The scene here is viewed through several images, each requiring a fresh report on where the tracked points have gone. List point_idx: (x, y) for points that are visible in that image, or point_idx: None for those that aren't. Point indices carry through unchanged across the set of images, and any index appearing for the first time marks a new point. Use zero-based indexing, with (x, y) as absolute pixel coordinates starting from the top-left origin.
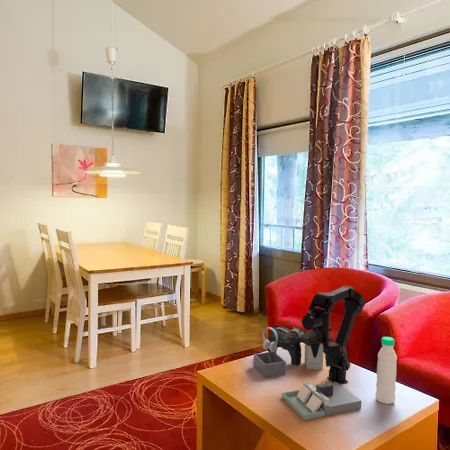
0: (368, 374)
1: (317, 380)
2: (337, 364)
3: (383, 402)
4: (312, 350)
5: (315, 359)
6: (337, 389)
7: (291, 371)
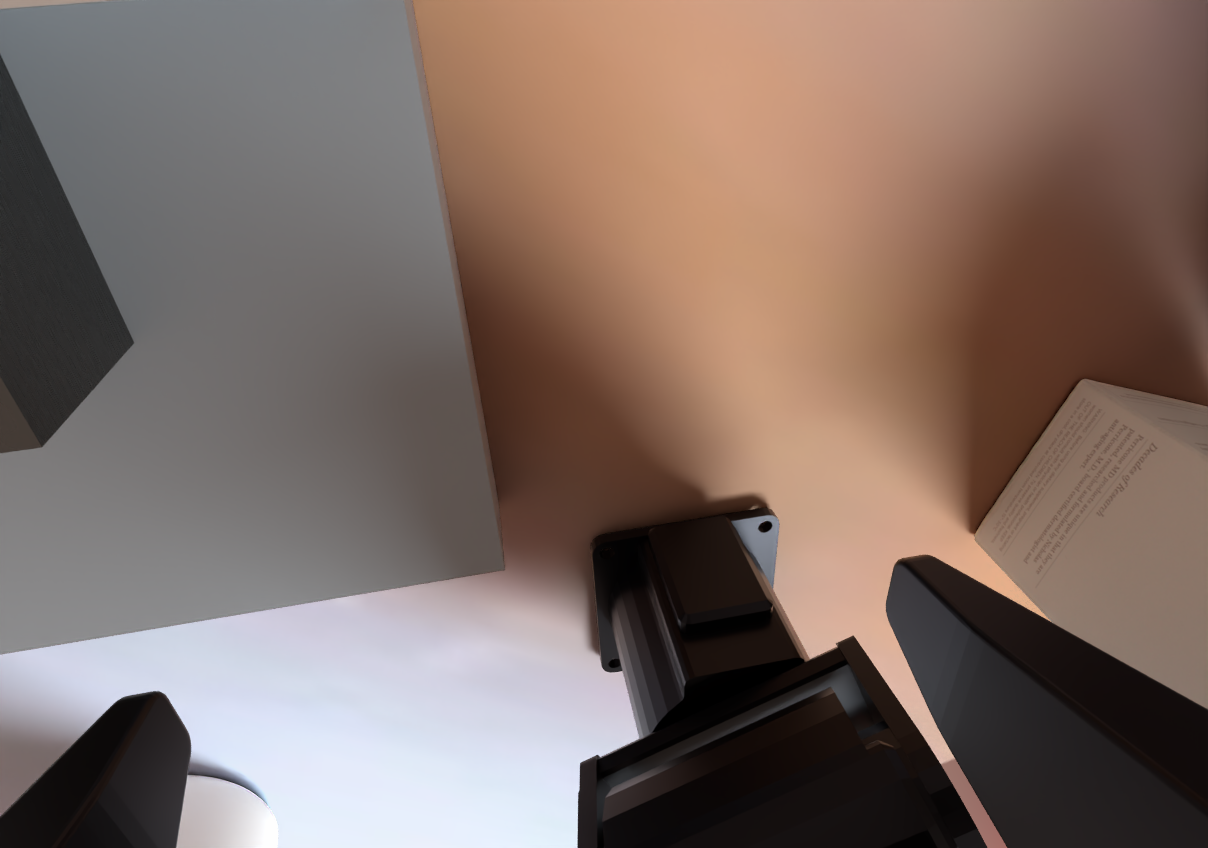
0: None
1: (772, 376)
2: (623, 807)
3: None
4: (1141, 729)
5: (1123, 549)
6: (249, 505)
7: (1175, 119)
